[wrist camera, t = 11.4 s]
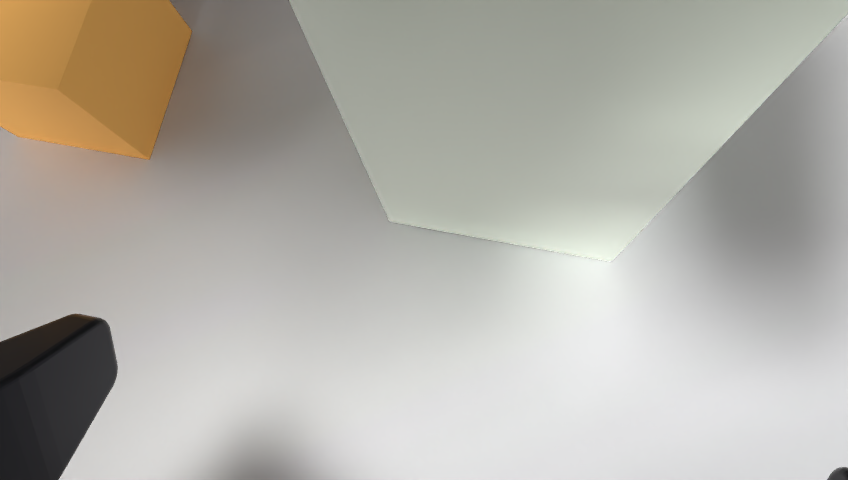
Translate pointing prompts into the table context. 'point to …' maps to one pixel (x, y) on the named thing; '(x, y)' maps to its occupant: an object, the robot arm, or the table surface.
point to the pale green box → (550, 104)
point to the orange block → (89, 71)
